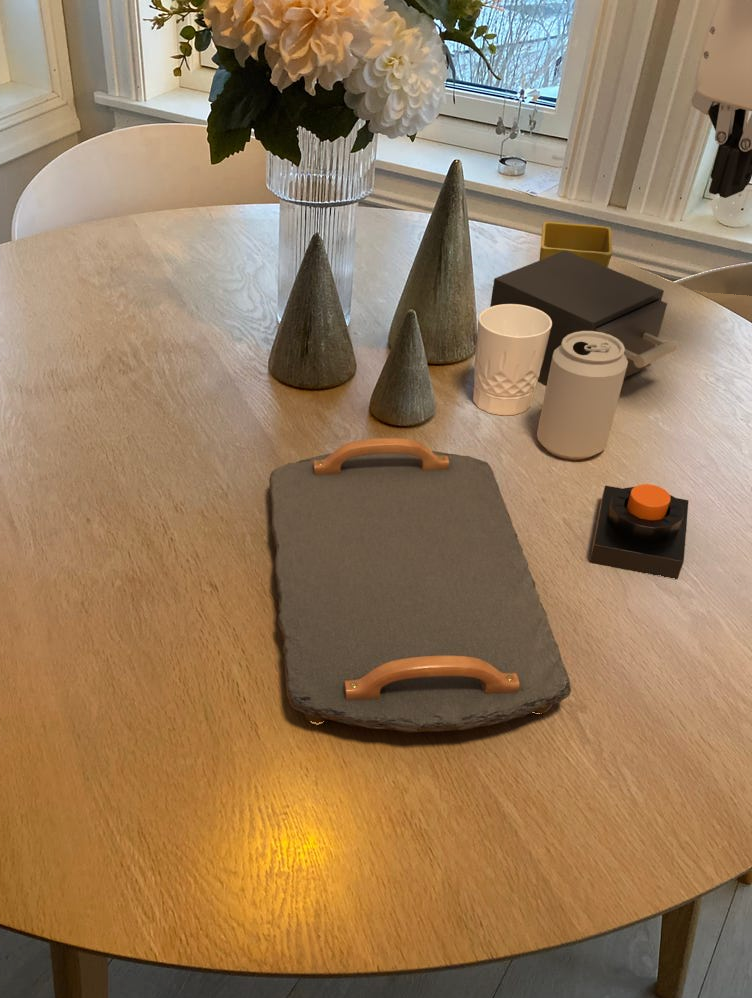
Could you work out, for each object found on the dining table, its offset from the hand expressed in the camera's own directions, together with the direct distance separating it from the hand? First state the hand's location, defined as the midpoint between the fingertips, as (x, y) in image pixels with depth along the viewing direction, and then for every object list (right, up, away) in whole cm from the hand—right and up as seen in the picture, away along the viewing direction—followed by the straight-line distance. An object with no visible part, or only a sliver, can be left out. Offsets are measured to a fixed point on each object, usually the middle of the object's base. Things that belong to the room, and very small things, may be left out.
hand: (726, 191), depth 89 cm
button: (-5, -28, +5) cm, 29 cm away
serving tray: (-29, -36, +3) cm, 46 cm away
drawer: (-3, -7, +30) cm, 31 cm away
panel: (-5, -30, +8) cm, 32 cm away
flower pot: (-2, +5, +44) cm, 45 cm away
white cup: (-14, -13, +27) cm, 33 cm away
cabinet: (-5, -6, +33) cm, 34 cm away
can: (-8, -19, +20) cm, 29 cm away
